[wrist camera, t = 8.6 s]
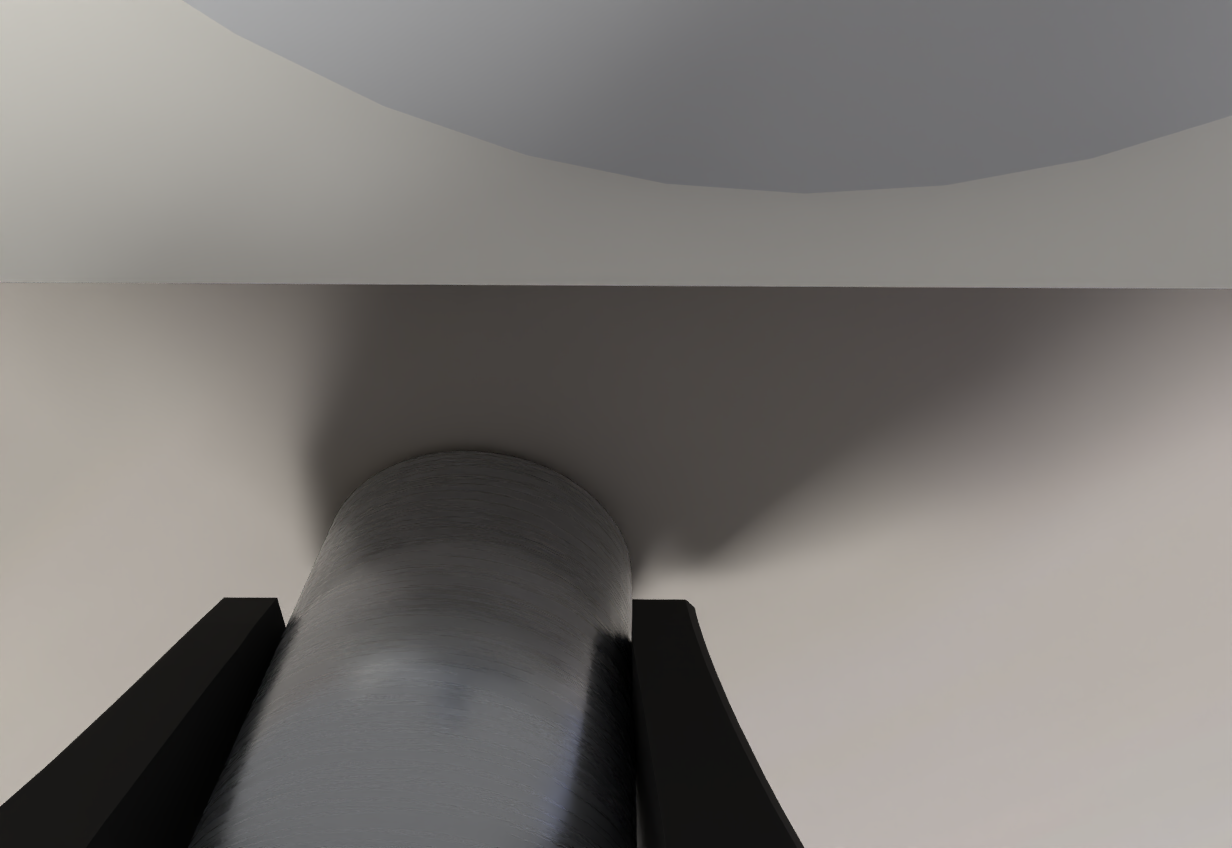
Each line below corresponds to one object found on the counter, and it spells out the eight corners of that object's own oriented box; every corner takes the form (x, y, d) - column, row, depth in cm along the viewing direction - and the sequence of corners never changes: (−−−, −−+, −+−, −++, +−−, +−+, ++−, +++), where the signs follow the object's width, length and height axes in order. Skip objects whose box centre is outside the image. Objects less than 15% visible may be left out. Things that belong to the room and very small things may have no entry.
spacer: (633, 451, 10) (644, 860, 6) (629, 678, 12) (636, 1097, 8) (299, 449, 10) (68, 860, 6) (353, 678, 12) (214, 1096, 8)
